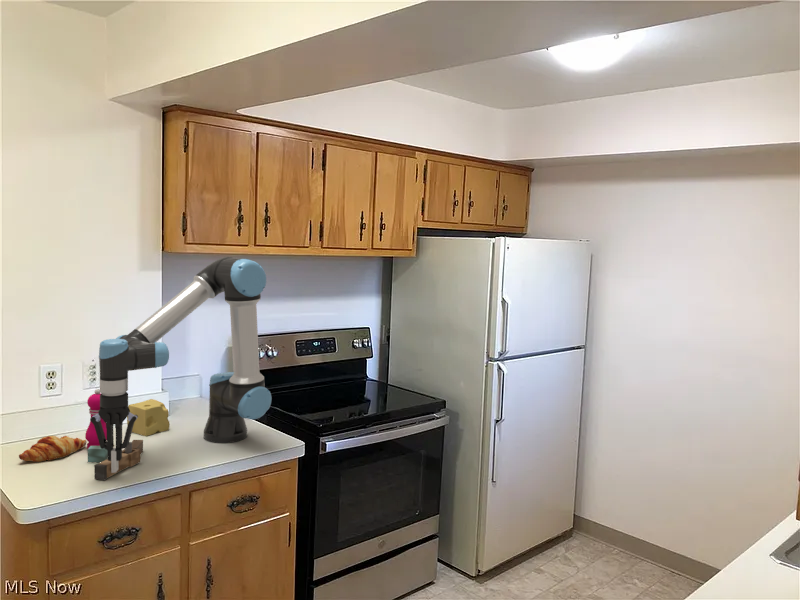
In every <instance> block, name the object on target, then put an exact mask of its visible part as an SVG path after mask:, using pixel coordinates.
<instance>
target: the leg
mask: <svg viewBox="0 0 800 600" xmlns="http://www.w3.org/2000/svg"><path fill="white" fill-rule="evenodd" d="M141 455H142V454H141V450H140V449H133V448H132V452H131V453H129V454H126V453H125V448H123V449H122V458H121V460H120V461H118V467H119V469H118V471H117V472H116V473H111V461H108V459H107V460H105V461H103V462H101V463H95V464H94V471H93V472H94V480H100V481H106V480H107V479H108V478H111V477H112V476H115V475H116V474H118V473H119V472H121V471H123V470H125V469H127V468H129V467H130V468H132V467H134V466H135V465H137V464H139V463H141V457H142V456H141Z"/></svg>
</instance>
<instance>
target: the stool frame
mask: <svg viewBox="0 0 800 600" xmlns="http://www.w3.org/2000/svg"><path fill="white" fill-rule="evenodd" d="M132 448H133V449H140V450H141V453H142V454H143V453H144V440H143V439H133V440H132V441H129V444H128V446H127V447H126V448H124V449H125V453H126V454H129V453H131V452H132ZM107 459H108V451H107V450H106V449H102V448H101V447H100V446H90V447H89V448H88V450H87V463H88V462H103V461H105V460H107Z"/></svg>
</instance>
